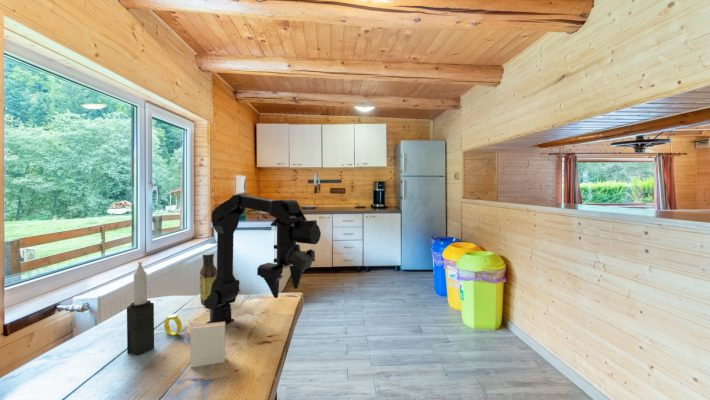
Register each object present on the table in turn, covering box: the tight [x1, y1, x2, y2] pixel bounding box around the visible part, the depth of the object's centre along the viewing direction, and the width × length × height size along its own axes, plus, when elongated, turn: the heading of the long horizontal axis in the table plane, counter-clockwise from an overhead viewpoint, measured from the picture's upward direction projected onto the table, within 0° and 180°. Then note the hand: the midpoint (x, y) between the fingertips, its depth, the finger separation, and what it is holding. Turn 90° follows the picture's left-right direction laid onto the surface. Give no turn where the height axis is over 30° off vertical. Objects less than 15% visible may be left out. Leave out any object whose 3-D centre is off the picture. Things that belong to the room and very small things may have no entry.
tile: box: [189, 322, 227, 368], centre depth 78 cm, size 2×8×10 cm, turn 108°
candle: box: [126, 261, 155, 356], centre depth 83 cm, size 5×5×25 cm
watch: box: [163, 313, 183, 337], centre depth 93 cm, size 6×3×6 cm, turn 70°
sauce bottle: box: [199, 252, 217, 305], centre depth 120 cm, size 6×6×20 cm
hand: (286, 292), depth 90 cm, fingers open, 9 cm apart
